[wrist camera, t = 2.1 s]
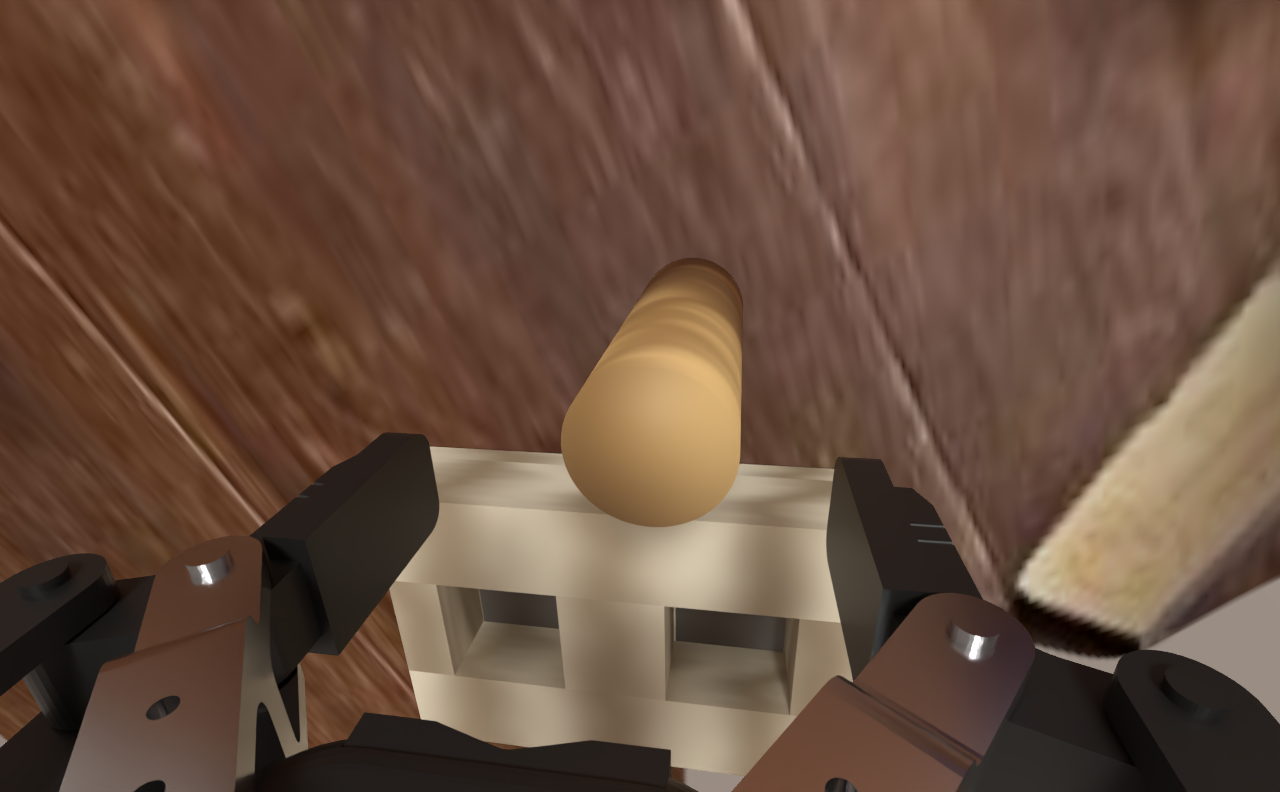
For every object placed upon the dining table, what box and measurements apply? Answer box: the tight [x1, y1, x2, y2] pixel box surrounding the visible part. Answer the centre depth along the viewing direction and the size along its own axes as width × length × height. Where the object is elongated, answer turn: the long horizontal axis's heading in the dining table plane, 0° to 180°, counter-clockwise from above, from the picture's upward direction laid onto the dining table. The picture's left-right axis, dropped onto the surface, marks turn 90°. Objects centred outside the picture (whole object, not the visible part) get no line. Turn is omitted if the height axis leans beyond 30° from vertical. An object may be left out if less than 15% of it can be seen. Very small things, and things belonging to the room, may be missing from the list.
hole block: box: [389, 447, 852, 776], centre depth 28 cm, size 20×14×4 cm
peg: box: [561, 258, 743, 527], centre depth 19 cm, size 4×4×12 cm
